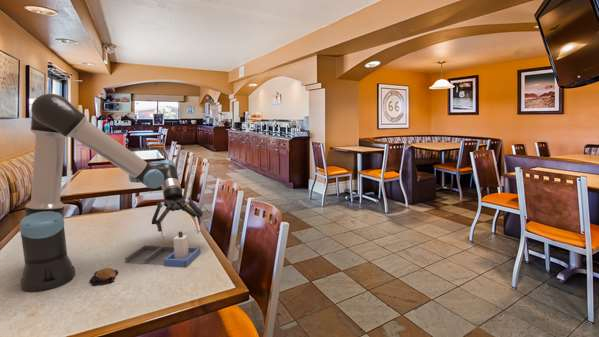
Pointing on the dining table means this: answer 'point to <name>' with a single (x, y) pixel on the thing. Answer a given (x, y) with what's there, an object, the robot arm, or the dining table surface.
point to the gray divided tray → (161, 256)
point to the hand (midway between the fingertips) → (181, 234)
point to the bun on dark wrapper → (103, 277)
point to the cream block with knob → (181, 246)
